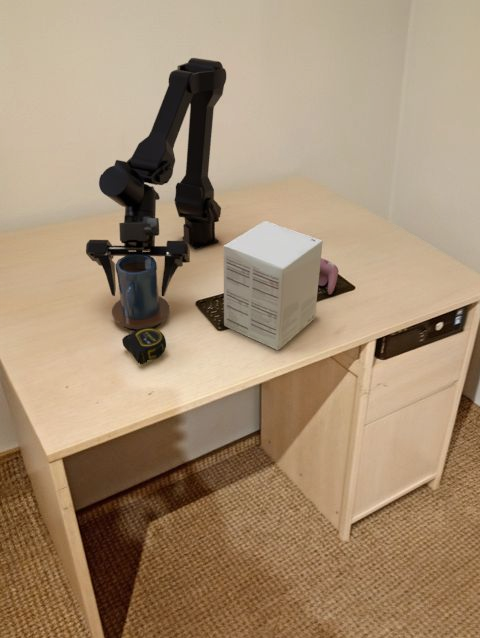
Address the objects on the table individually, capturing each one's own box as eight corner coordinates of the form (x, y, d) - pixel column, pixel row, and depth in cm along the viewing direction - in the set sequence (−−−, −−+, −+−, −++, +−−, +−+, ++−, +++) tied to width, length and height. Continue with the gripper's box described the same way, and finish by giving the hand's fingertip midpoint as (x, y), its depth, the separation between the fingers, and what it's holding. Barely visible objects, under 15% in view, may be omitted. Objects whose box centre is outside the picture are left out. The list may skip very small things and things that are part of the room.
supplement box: (261, 296, 127) (264, 219, 116) (316, 319, 121) (324, 239, 110) (222, 326, 118) (221, 245, 107) (278, 351, 112) (283, 269, 101)
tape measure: (122, 350, 111) (119, 333, 109) (156, 338, 114) (154, 321, 112) (138, 370, 107) (136, 353, 104) (173, 357, 110) (172, 340, 107)
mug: (121, 294, 123) (115, 247, 116) (175, 299, 122) (171, 251, 116) (103, 329, 114) (95, 279, 107) (161, 334, 113) (157, 284, 106)
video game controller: (335, 294, 131) (342, 261, 130) (332, 295, 127) (338, 262, 125) (291, 285, 133) (297, 253, 132) (286, 286, 129) (293, 253, 128)
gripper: (80, 199, 108) (76, 285, 106) (186, 200, 109) (184, 286, 107) (94, 220, 119) (91, 298, 117) (190, 221, 120) (189, 299, 118)
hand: (138, 295), depth 114 cm, fingers open, 9 cm apart
